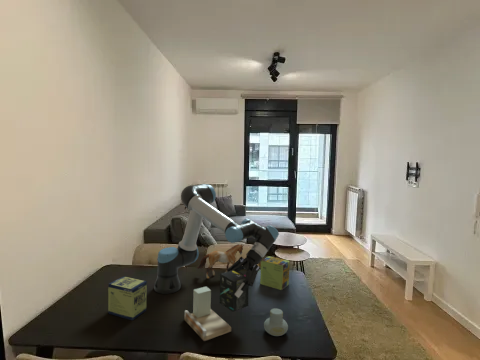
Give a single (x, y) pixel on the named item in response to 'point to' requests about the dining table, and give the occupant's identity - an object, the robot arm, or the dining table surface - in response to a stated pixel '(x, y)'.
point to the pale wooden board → (207, 325)
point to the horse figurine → (221, 257)
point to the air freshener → (276, 323)
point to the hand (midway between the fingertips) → (229, 291)
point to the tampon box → (232, 290)
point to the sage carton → (201, 301)
